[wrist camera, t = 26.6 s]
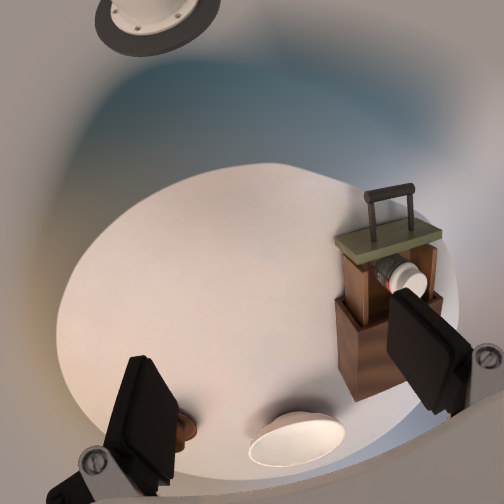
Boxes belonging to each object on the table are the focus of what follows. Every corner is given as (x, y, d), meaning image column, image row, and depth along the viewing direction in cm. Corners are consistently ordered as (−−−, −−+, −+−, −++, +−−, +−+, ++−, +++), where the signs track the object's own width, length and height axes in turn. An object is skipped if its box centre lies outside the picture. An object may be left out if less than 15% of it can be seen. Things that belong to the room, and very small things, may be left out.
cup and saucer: (135, 399, 44) (130, 424, 39) (197, 407, 46) (197, 433, 40) (142, 431, 48) (139, 453, 43) (196, 437, 50) (196, 460, 44)
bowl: (263, 451, 55) (267, 473, 48) (229, 412, 48) (232, 440, 41) (341, 424, 54) (350, 446, 48) (327, 379, 47) (338, 406, 41)
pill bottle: (362, 267, 37) (392, 296, 29) (381, 240, 36) (416, 263, 28) (381, 282, 38) (412, 311, 30) (400, 256, 37) (434, 281, 29)
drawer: (327, 190, 34) (351, 201, 27) (410, 175, 34) (441, 182, 28) (341, 323, 41) (358, 350, 35) (411, 298, 42) (433, 319, 35)
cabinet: (334, 299, 41) (357, 332, 33) (412, 273, 41) (443, 297, 33) (338, 369, 46) (355, 402, 38) (405, 343, 47) (428, 370, 39)
